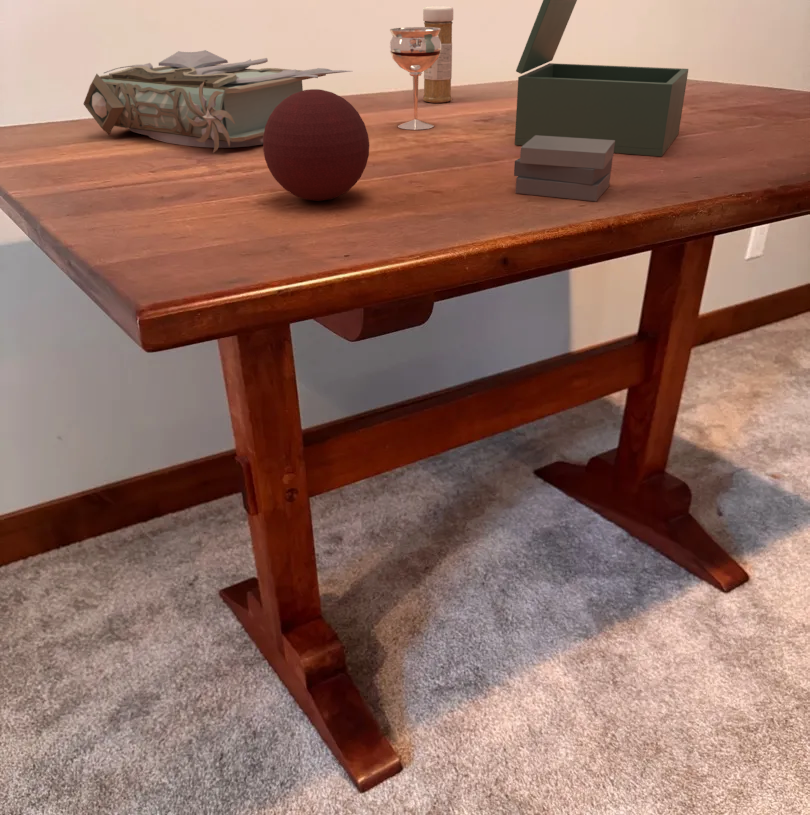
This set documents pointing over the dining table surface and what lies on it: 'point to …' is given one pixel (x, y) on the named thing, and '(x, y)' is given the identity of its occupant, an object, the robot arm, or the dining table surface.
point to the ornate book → (195, 99)
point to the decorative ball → (316, 145)
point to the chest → (602, 105)
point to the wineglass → (415, 59)
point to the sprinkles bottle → (441, 70)
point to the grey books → (564, 167)
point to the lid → (546, 34)
